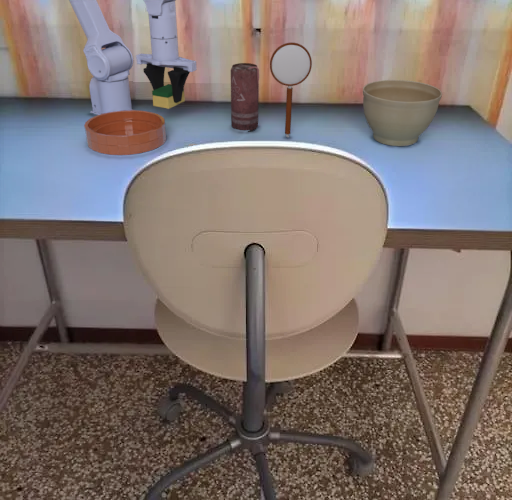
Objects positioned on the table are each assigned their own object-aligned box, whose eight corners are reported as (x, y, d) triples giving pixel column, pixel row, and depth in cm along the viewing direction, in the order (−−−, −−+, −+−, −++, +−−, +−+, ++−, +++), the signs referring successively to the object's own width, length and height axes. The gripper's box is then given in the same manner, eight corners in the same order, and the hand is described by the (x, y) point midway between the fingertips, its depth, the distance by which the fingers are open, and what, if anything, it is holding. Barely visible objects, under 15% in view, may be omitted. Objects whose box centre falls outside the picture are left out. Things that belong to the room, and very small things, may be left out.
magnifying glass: (306, 136, 120) (312, 41, 109) (307, 139, 119) (313, 43, 108) (267, 136, 120) (270, 41, 109) (268, 139, 118) (270, 43, 108)
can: (256, 133, 121) (256, 69, 114) (228, 131, 122) (227, 68, 115) (261, 124, 126) (262, 63, 119) (234, 122, 127) (234, 61, 120)
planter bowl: (369, 122, 128) (374, 76, 122) (438, 133, 122) (448, 85, 117) (348, 144, 116) (353, 94, 110) (424, 158, 110) (434, 105, 104)
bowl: (71, 145, 114) (67, 124, 112) (130, 124, 125) (128, 105, 123) (124, 164, 106) (121, 142, 103) (182, 140, 117) (180, 120, 115)
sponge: (168, 108, 120) (167, 93, 118) (153, 106, 121) (151, 90, 119) (184, 101, 125) (183, 86, 123) (169, 98, 126) (168, 83, 124)
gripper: (124, 36, 115) (132, 99, 122) (182, 43, 109) (186, 109, 117) (145, 31, 120) (150, 92, 128) (200, 37, 115) (203, 101, 122)
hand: (168, 100), depth 122 cm, fingers closed on sponge, 4 cm apart
